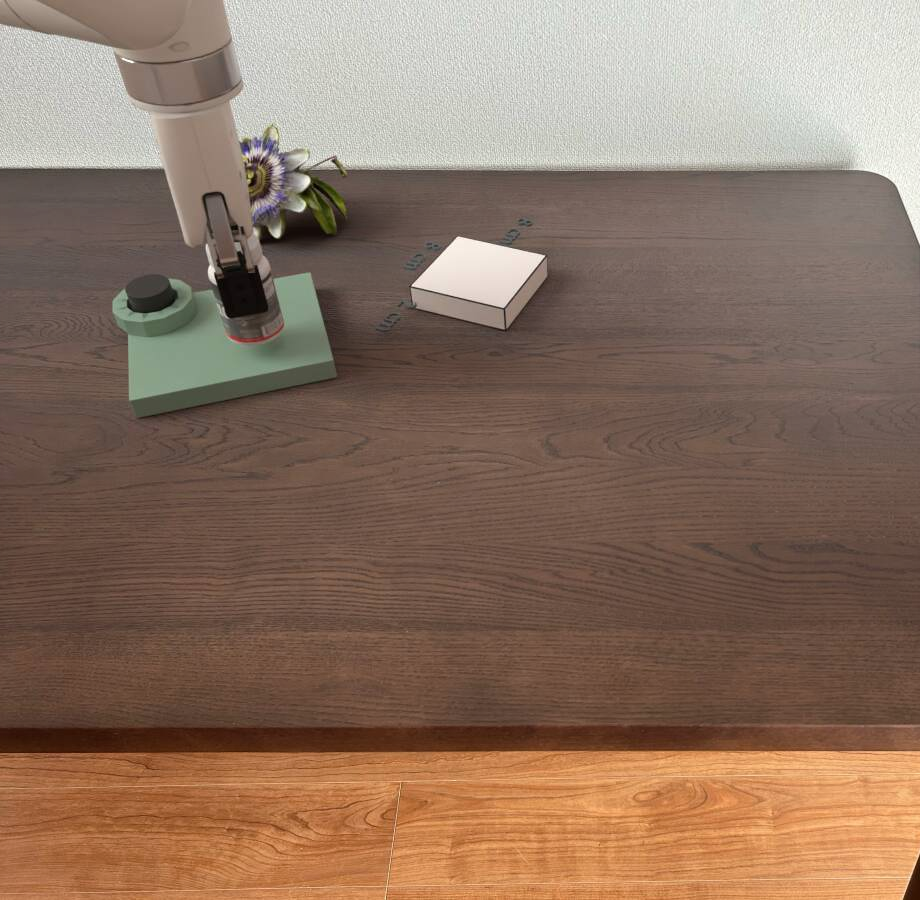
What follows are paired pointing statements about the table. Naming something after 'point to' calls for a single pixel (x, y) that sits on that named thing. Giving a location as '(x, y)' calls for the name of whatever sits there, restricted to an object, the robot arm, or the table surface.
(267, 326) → the pill bottle
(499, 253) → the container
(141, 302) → the button
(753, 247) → the table surface
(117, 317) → the scale
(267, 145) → the passion flower
